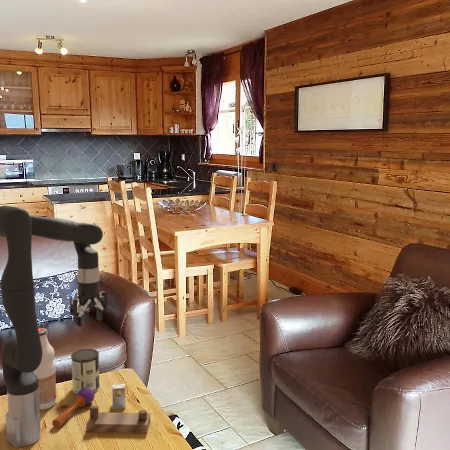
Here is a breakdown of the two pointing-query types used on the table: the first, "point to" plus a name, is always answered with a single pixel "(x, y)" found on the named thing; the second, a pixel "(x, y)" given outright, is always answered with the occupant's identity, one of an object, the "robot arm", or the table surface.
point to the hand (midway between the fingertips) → (89, 322)
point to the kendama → (75, 405)
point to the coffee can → (85, 370)
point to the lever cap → (118, 396)
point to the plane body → (117, 422)
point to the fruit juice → (46, 373)
